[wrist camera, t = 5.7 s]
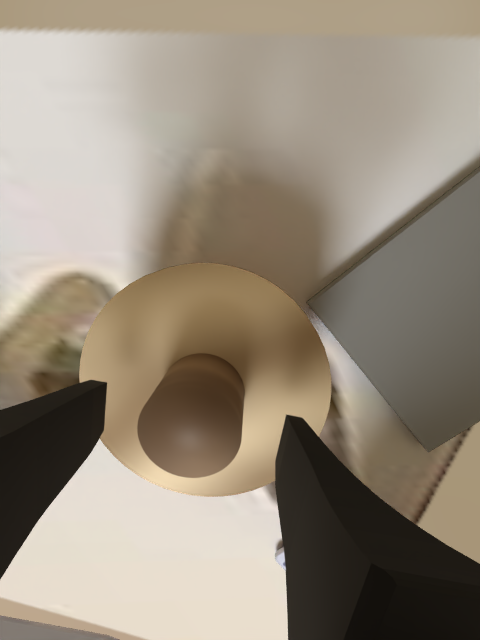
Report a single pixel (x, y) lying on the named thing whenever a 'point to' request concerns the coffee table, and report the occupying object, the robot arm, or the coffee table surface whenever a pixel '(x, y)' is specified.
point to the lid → (205, 376)
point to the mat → (418, 316)
